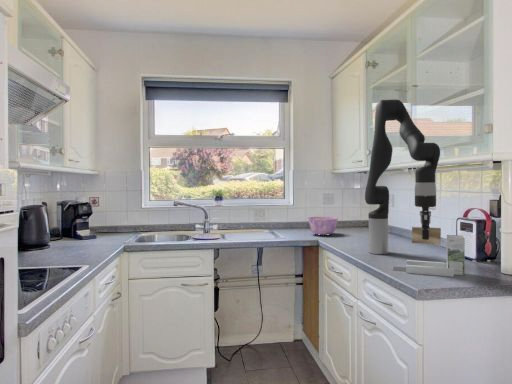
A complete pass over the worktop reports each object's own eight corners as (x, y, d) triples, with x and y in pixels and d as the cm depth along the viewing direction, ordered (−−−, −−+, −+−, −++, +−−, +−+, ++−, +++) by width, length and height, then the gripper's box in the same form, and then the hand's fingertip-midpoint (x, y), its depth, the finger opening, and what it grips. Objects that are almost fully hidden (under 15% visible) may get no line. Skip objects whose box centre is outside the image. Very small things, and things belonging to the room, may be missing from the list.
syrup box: (463, 272, 138) (463, 234, 138) (464, 276, 133) (464, 237, 133) (446, 271, 141) (446, 234, 140) (447, 275, 135) (447, 236, 135)
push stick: (412, 241, 144) (412, 226, 144) (440, 243, 140) (440, 228, 140) (411, 242, 141) (412, 227, 141) (440, 244, 137) (440, 228, 137)
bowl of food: (306, 236, 239) (305, 219, 239) (310, 232, 258) (310, 216, 258) (336, 237, 233) (336, 219, 233) (339, 233, 252) (339, 216, 252)
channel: (394, 266, 151) (394, 259, 151) (451, 270, 142) (451, 262, 142) (392, 272, 141) (392, 264, 141) (453, 277, 132) (453, 269, 132)
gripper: (414, 193, 148) (415, 235, 149) (414, 195, 135) (414, 241, 136) (435, 193, 145) (435, 236, 145) (436, 195, 132) (437, 242, 133)
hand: (425, 238), depth 141 cm, fingers closed on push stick, 2 cm apart
